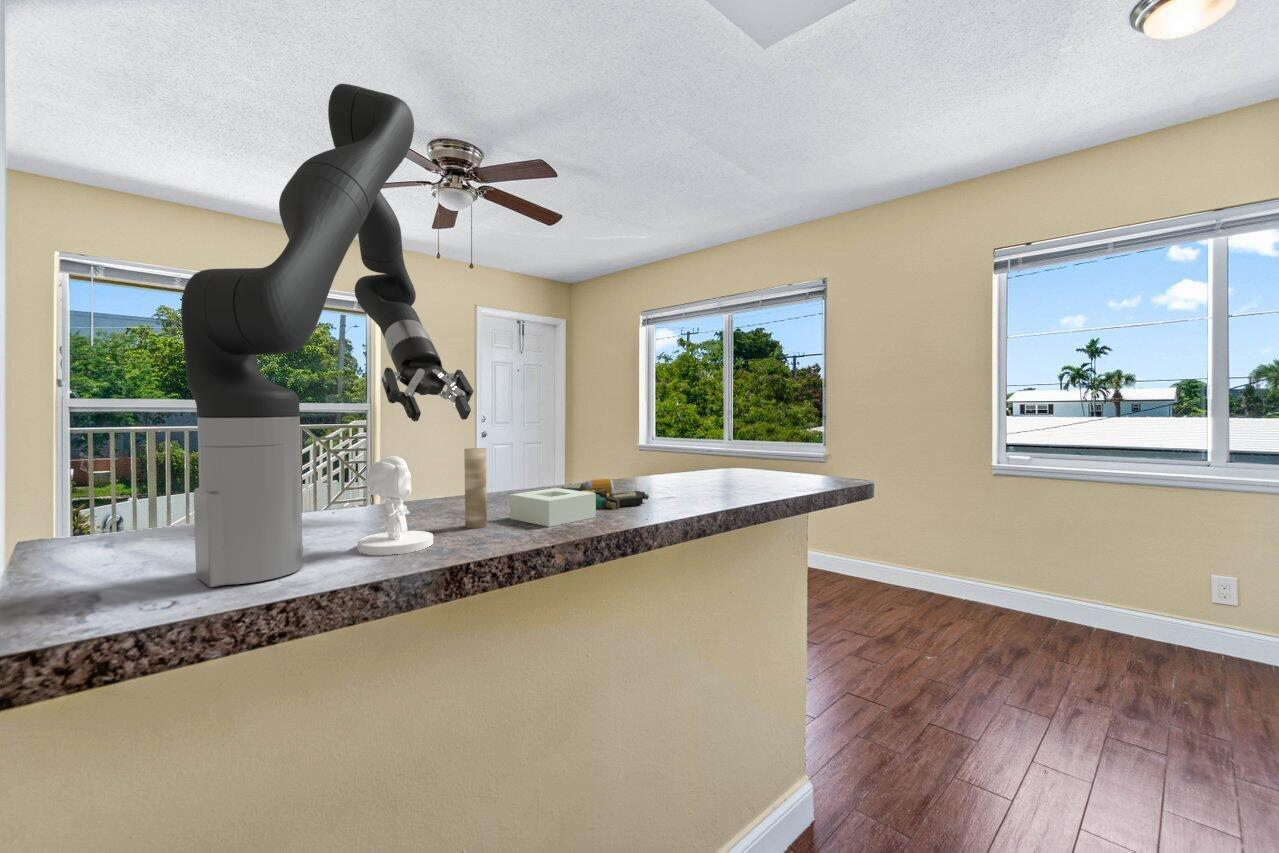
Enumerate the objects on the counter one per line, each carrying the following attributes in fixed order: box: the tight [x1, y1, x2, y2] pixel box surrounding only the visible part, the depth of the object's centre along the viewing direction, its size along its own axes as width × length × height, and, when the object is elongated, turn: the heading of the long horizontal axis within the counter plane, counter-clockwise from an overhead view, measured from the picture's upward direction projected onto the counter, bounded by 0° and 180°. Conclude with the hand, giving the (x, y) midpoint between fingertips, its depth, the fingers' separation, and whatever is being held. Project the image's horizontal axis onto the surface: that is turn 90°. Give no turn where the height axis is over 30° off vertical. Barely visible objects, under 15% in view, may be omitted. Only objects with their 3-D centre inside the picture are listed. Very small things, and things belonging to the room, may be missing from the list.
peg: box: [463, 447, 488, 529], centre depth 87 cm, size 3×3×12 cm
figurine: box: [357, 455, 434, 556], centre depth 74 cm, size 9×9×12 cm
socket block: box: [509, 487, 597, 528], centre depth 93 cm, size 10×10×4 cm
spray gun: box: [559, 478, 650, 510], centre depth 108 cm, size 4×17×15 cm
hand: (442, 417), depth 94 cm, fingers open, 8 cm apart
